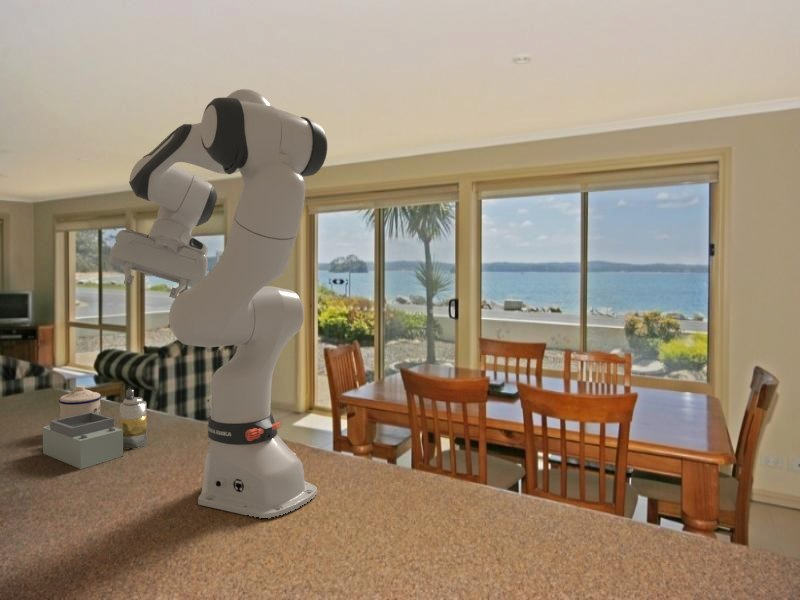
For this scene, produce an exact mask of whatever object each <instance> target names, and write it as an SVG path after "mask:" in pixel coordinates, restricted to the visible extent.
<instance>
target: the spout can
mask: <svg viewBox="0 0 800 600" xmlns="http://www.w3.org/2000/svg"><path fill="white" fill-rule="evenodd" d="M125 395H126V397H125V398H124V399H123V402H121V403H120V404H119V429H122V430H123V448H137V449H139V448H138V447H141V448H143V447H142V446H144V447H146V444H147V445H148V417H147V416H148V415H147V411H148V410H147V401H146V400H144V399H143V398H142V396H141V397H140V396H138V397H137V396H135V389H133V388H131V389H126V393H125Z"/></svg>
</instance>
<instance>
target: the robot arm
mask: <svg viewBox="0 0 800 600" xmlns="http://www.w3.org/2000/svg"><path fill="white" fill-rule="evenodd" d="M327 154H328V139H327V135H326V132H325V130H324V128H323V127H322V126H321V125H320V124H318V123H317V122H315V121H314V120H312V119H310V118H308V117H305V116H298V115H296V114H293V113H290V112H288V111H285V110H281V109H278V108H275V107H274V106H271V103H270V102H269V101H268V100H267V98H266V97H264V96H263V95H262V94H260V93H259V92H257V91H254V90H251V89H247V88H243V89H236V90H235V91H233V92H231V93H230V94H229V95H228V96H226V97H216V98H213V99H212V100H211V101H210V102H208V104H207V105H206V107H205V109H204V111H203V115H202V119H201V120H200V122H198V123H193V124H192V123H184V124H182V125H180V126H178V127H177V128H176V129H175V130H173V131H172V132H171V133H170V134H169V135H167V136H166V137H165V138H164V139H163V140H162V141H161V142H160V143H159V144H158V145H157V146H156V147H155V148H153V150H151V152H149V153H147V154H145V155H144V156H143V157H142V158H141V159H138V161H137V162H136V163H135V164H134V166H133V167H132V169H131V172H130V174H129V181H128V182H129V186H130V188H131V190H132V191H133V193H134V195H135V196H136V197H137V198H140V199H143V200H146V201H149V202H152V203H154V204H156V205H158V206H159V208H158V211H157V218H156V220H154V222H153V224H152V226H151V229H150V231H149V234H146V233H143V232H139V231H135V230H133V229H130V228H128V229H121V230H119V231H118V232H117V234H116V236H115V242H114V244H113V246H112V247H111V249H110V252H109V258H108V259H109V261H110V263H111V264H112V265H113V266H118V267H121V268H123V273H124V276H125V277H124V281H123V285H126V286H129V287H131V286H132V285H133V282H134V279H135V275H131V271H135V272H138V273H143V274H145V275H149V276H153V277H155V278H159V279H163V280H167V281H169V282H172V283H177V284H178V286H177V287H173V286H172V288H171V290H170V294H169V297H170V298H172V299H174V300H173V302H172V303H171V305H170V308H169V314H168V322H169V327H170V329H171V332H172V334H173V335H174V336H175V338H176V339H177V340H178V341H179V342H180V343H181V344H182V345H187V346H192V347H204V348H216V347H226V346H237V348H236V351H235V352H234V354H233V356H232V358H231V359H230V360H229V361H227V362H226V363H225V364H223V365H221V366H220V367H218V369H217V370H216V371H214V373H213V376H212V377H211V380H210V415H209V417H208V418H207V419H208V420H207V437H208V438H209V446H208V449H207V451H206V455H205V460H204V470H203V479H202V486H201V487H202V488H201V492H200V495H199V496H198V497H197V498H198V499H197V504H198V505H199V506H203V507H206V508H207V507H208V508H212V509H217V510H221V511H226V512H229V513H235V514H240V515H242V516H243V515H244V516H247V515H249V516H248V517H252V516H254V517H253V518H256V517H259V518H258V519H261V518H268V519H272V518H271V517H274V516H277V517H280V516H279V515H281V516H284V515H286V514H288V512H289V513H291V512H294V511H296V510H298V509H299V508H301V507H303V506H305V505H306V504H308V503H309V502H310V500H311V499H312V500H313V499H314V498H315V497H316V496H317V494H318V487H317V486H316V485H314V484H313V483H310V482H308V481H306V480H305V469H304V465H303V462H302V460H301V459H300V458H299V457H298V456H297V454H296V453H295V452H294V451H292V450H291V449H290V448H289V446H288V445H287V444H286V443H285V442H284V441H283V440H282V439H281V438H280V436H279V435H278V429H279V428H282V425H281V423H282V421H278V422H276V421H275V419H274V415H273V413H272V412H271V406H272V405H271V400H272V399H271V398H272V397H271V396H272V384H273V383H272V382H273V376H274V375H273V374H274V371H275V367H276V364H277V361H278V359H279V357H280V355H281V353H282V351H283V349H284V348H285V347H286V346H287V343H288V342H290V340H291V339H292V338H293V337H294V336H295V335H296V334H298V333H299V331H300V330H301V328H302V326H303V324H304V319H305V308H304V304H303V301H302V300H301V298H300V296H299V295H298V293H296V292H295V291H294V290H291V289H288V288H287V289H286V288H282V287H278V286H277V287H276V286H273V285H269V284H272V282H275V281H276V280H277V279H279V278H281V277H282V275H284V273H285V272H286V271H287V268H288V265H289V262H290V258H291V256H292V254H293V253H292V252H293V251H294V245H295V244H296V243H295V242H296V240H297V236H298V232H299V230H300V225H301V222H302V217H303V213H304V206H305V198H306V190H307V189H306V188H307V186H306V181H305V178H304V177H311V176H314V175H315V174H317V173H318V172H319V171H320V170H321V168H322V167H323V165H324V164H325V161H326V158H327ZM175 163H185V164H188V165H189V164H190V165H194V166H196V167H200V168H202V169H205V170H208V171H210V172H214V173H218V174H221V175H222V174H223V175H232V174H235V173H238V172H240V175H241V179H242V188H241V192H240V195H239V196H240V197H239V199H238V202H237V205H236V209H235V212H234V215H233V216H234V217H233V220H232V224H231V227H230V231H229V234H228V238H227V240H226V244H225V247H224V250H223V252H222V254H221V256H220V258H219V259H218V261H217V262H216V263H215V265H214V267H213V268H212V269H211V270H210V271H209V272H208V266H209V265H208V262H209V261H208V257H207V254H208V245H207V244H205V243H204V242H202V241H200V240H199V239H197V238H196V237H195V236H193V235H192V232H193V230H194V229H195V227H199V226H201V225H204V224H206V223H207V222H208V221H209V220H210V219H211V217H212V215H213V212H214V209H215V207H216V203H217V200H218V194H217V191H216V189H215V188H216V187H215V186H214V185H213V184H212V183H210V182H209V181H207V180H205V179H203V178H201V177H199V176H197V175H195V174H193V173H190V172H189V171H188V170H187V171H186V170H184V169H183V168H180V167H178V166H177V165H176V164H175ZM207 272H208V273H207ZM267 285H269V286H267ZM186 287H189V288H188V289H186ZM185 289H186V290H185ZM315 495H316V496H315ZM312 500H311V501H312ZM307 502H308V503H307ZM304 504H305V505H304ZM302 505H303V506H302ZM300 506H301V507H300ZM295 509H296V510H295ZM290 511H291V512H290ZM285 513H286V514H285ZM283 514H284V515H283ZM274 518H275V517H274Z"/></svg>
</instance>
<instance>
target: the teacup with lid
mask: <svg viewBox="0 0 800 600" xmlns="http://www.w3.org/2000/svg"><path fill="white" fill-rule="evenodd" d="M101 399H102V396H101V393H99V392H95V391H92V390H90V389H86V387H85V385H77V386H76V387H75V390H72V391H70V392H69V393H67V394H64V395H62V396H61V397H60V398H59V400H58V402H59V407H60V409H59V410H60V411H59V413H60V415H59V416H60V418H59V419H62V418H66V417H71V416H75V415H80V414H84V413H89V412H94V413H98V414H101Z"/></svg>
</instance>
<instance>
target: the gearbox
mask: <svg viewBox="0 0 800 600" xmlns="http://www.w3.org/2000/svg"><path fill="white" fill-rule="evenodd" d="M49 423H50V424H49V425H45V426H43V427H42V452H43V453H42V454H44V455H46V456H48V457H51V458H53V459H56V460H58V461H60V462H63V463H65V464H67V465H70V466H72V467H75V468H77V469H79V470H83V469H87V468H89V467H93V466H96V464H97V465H99V463H100V464H102V462H103V463H106V462H109V460H110V461H113V460H115V459H114V458H116V459H118V457H119V458H122V457H121V456H123V457H124V449H123V430H122V429H120V428H118V427H116V426H115V419H114V417H111V416H108V415H105V414H101V413H100V414H98V413H94V412H89V413H84V414H80V415H75V416H71V417H66V418H62V419H60V418H59V419H54V420H53V419H52V420H50V421H49ZM112 459H113V460H112Z"/></svg>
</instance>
